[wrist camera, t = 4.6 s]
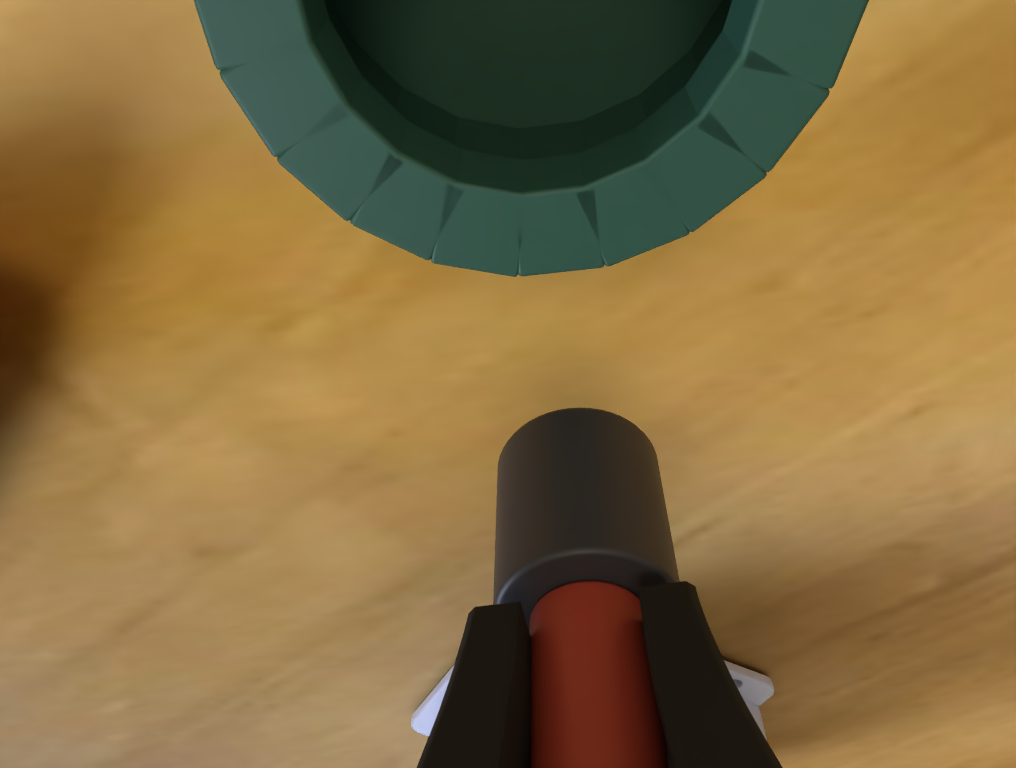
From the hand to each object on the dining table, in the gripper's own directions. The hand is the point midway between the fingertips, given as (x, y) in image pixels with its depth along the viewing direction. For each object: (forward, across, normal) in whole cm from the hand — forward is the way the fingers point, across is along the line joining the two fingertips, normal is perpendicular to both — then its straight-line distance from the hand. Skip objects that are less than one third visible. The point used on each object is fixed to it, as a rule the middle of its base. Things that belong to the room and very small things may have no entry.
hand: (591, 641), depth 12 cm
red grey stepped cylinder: (+3, 0, 0) cm, 3 cm away
